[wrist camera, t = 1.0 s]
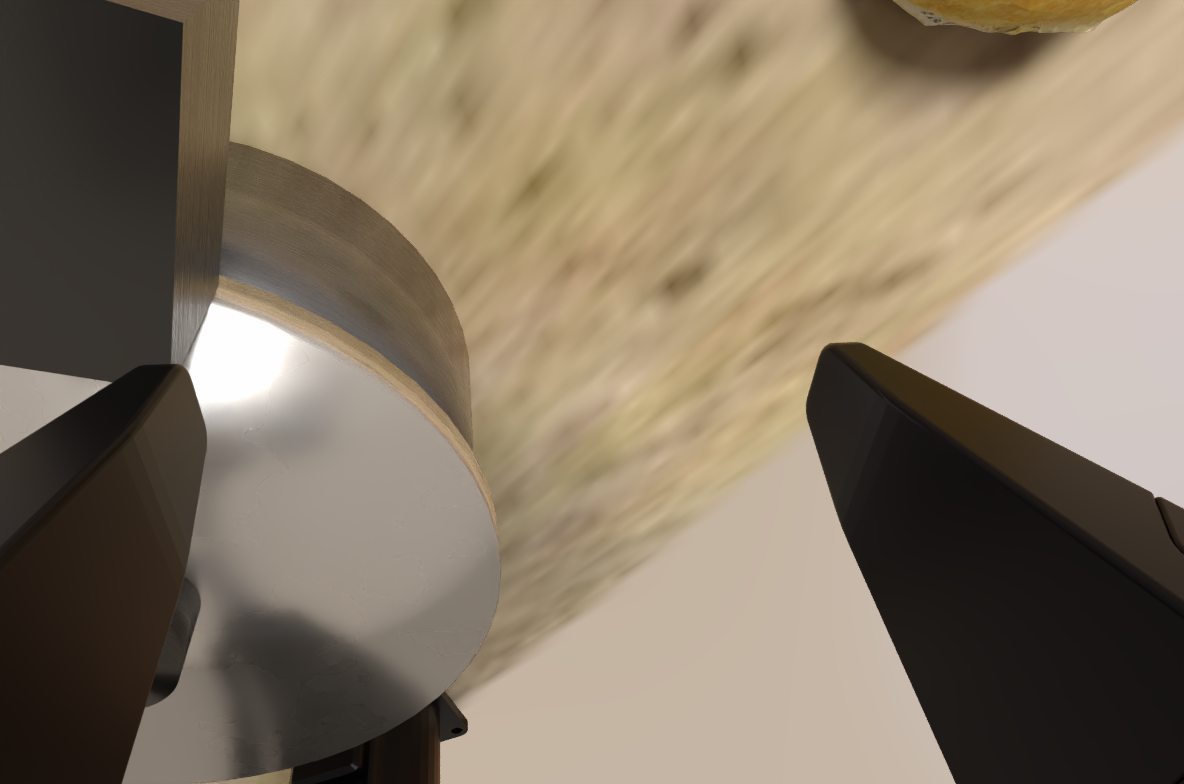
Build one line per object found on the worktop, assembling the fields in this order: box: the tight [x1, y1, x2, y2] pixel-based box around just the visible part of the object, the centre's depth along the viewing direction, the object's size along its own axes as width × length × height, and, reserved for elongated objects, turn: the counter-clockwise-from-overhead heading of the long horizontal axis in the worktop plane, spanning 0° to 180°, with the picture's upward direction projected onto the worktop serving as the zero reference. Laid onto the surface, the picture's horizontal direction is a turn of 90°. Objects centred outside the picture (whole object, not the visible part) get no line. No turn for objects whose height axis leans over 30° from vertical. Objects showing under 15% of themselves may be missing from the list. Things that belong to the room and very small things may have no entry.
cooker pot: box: [219, 141, 473, 452], centre depth 19 cm, size 20×15×7 cm
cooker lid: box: [0, 0, 501, 784], centre depth 15 cm, size 21×16×4 cm
